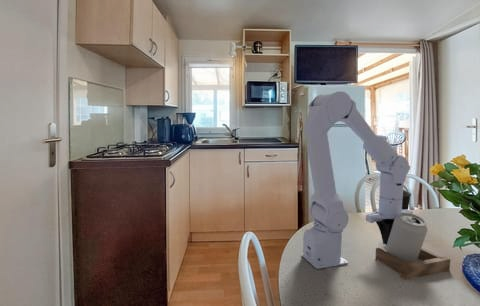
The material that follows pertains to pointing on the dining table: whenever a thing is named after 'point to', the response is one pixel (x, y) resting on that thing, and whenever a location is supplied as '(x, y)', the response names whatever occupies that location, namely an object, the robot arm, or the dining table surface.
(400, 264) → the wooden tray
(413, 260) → the can
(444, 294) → the dining table surface
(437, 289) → the dining table surface
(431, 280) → the dining table surface
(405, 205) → the drinking cup
